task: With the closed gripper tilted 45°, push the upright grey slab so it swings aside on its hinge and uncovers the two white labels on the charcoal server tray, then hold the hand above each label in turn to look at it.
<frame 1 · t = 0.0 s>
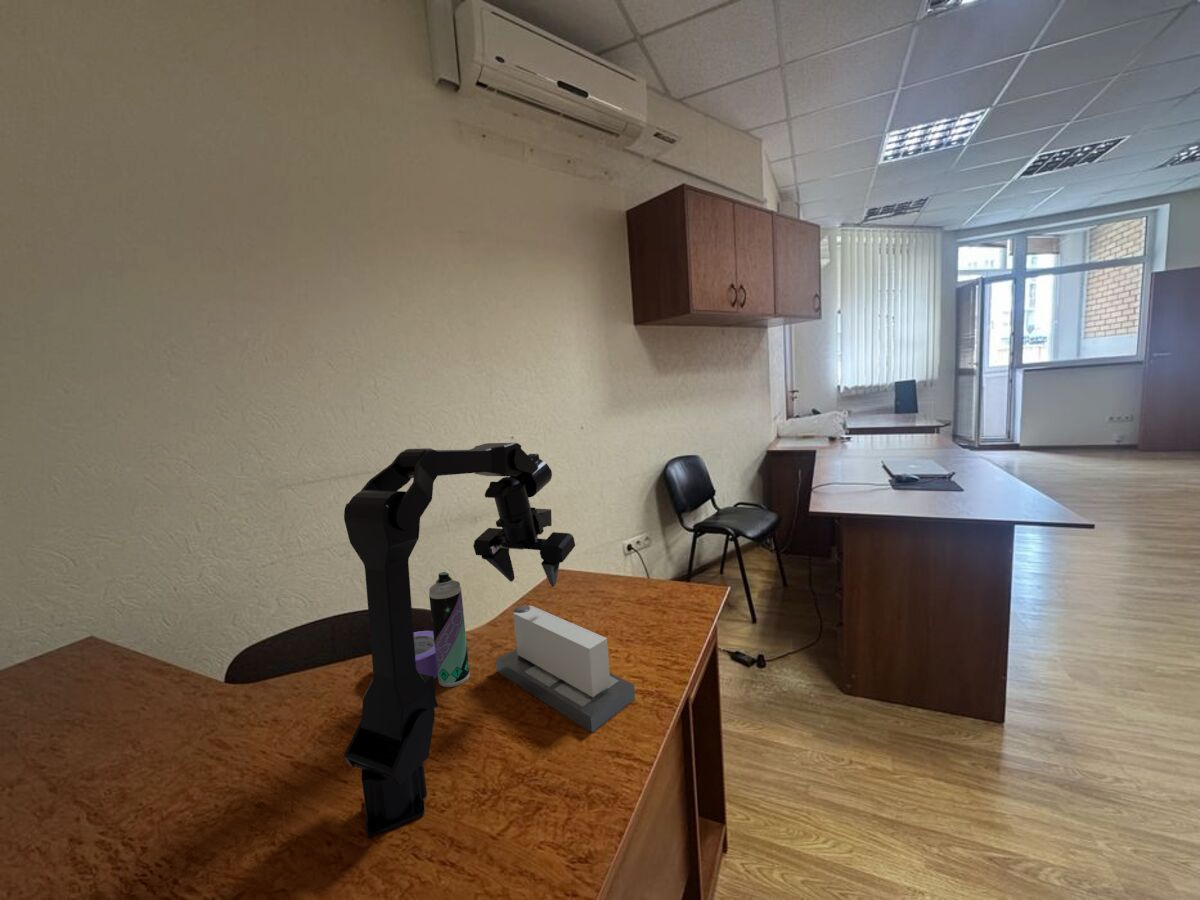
hand: (532, 582, 88), 15 cm above the table, tool pointing down, fingers open, 9 cm apart
tape roll: (416, 671, 90), on the table
server tray: (561, 684, 82), on the table
spray can: (454, 679, 86), on the table
upright grey slab: (555, 645, 81), point 7 cm above the table, hinge at 0.0°
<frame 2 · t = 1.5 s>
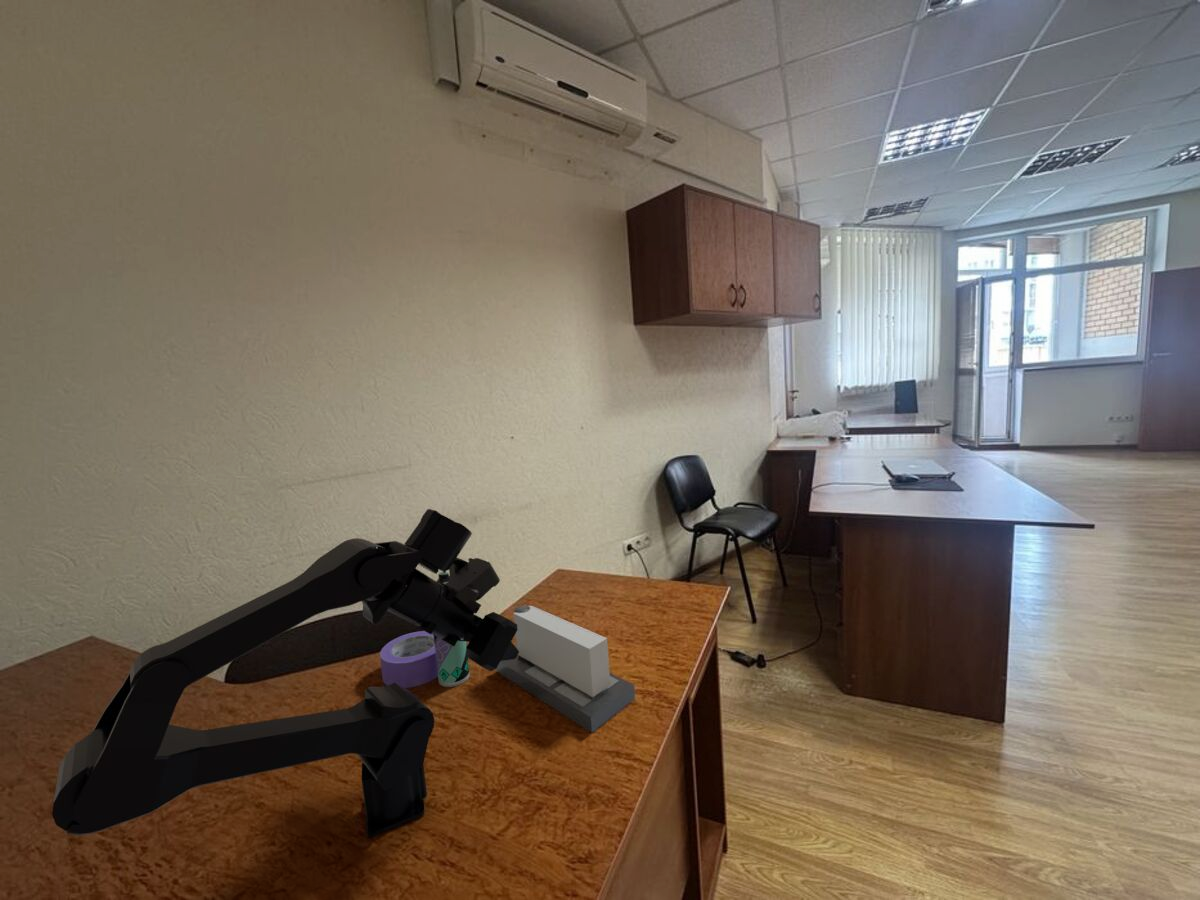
hand: (502, 646, 70), 13 cm above the table, tool tilted 45°, fingers open, 7 cm apart
nothing on the table moved.
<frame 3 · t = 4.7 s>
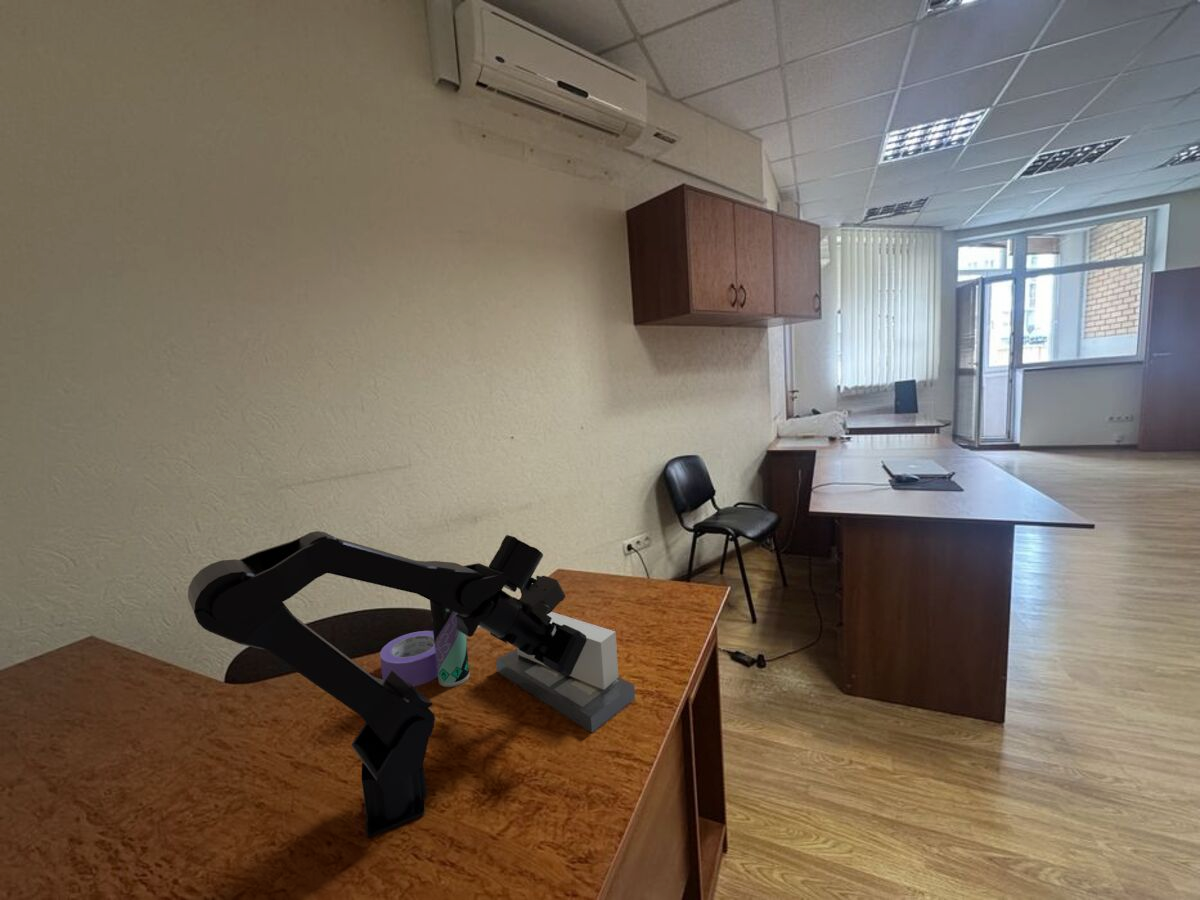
hand: (565, 653, 79), 7 cm above the table, tool tilted 45°, fingers closed, pressing on upright grey slab
upright grey slab: (560, 642, 82), point 7 cm above the table, hinge at 7.0°, touching gripper
everything else where it was.
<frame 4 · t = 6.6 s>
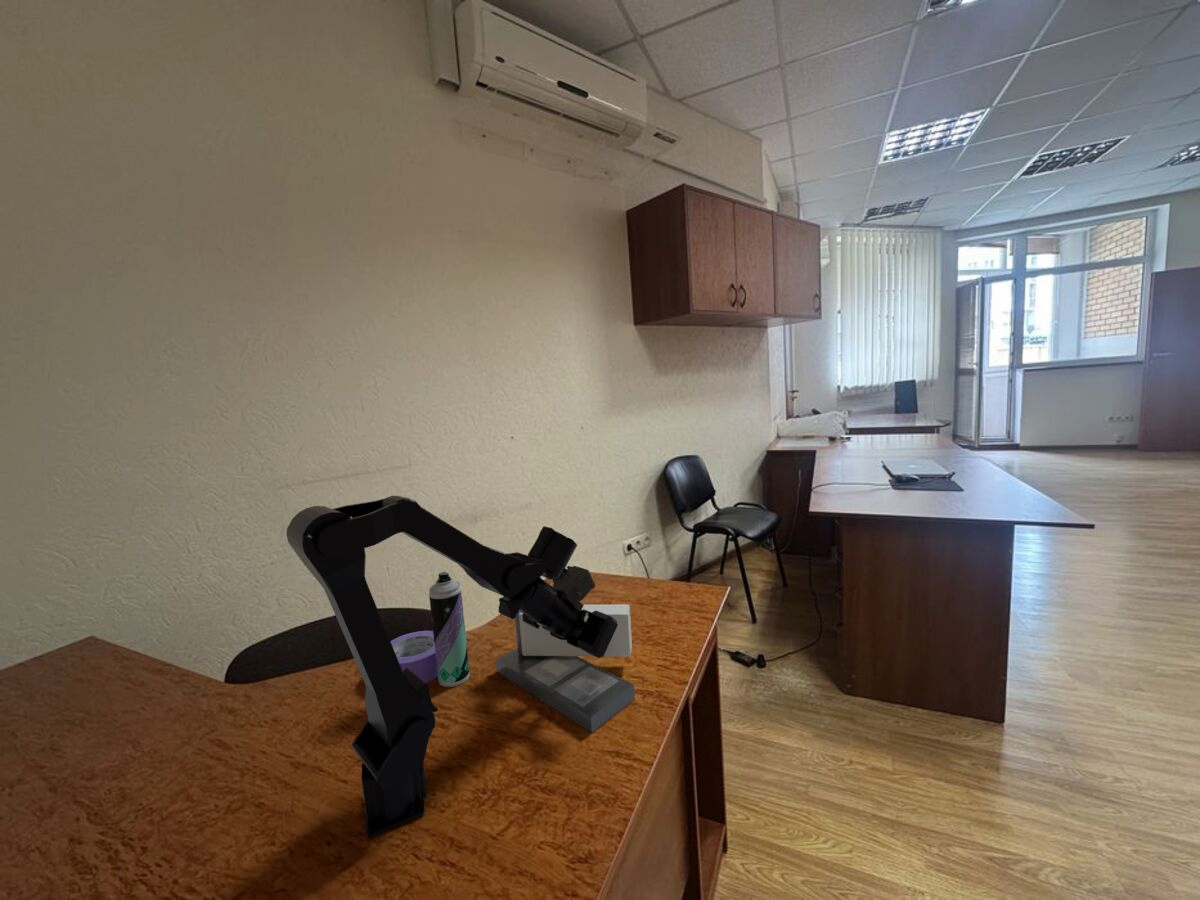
hand: (593, 640, 84), 6 cm above the table, tool tilted 45°, fingers closed
upright grey slab: (572, 629, 87), point 7 cm above the table, hinge at 36.2°, touching gripper
everything else where it was.
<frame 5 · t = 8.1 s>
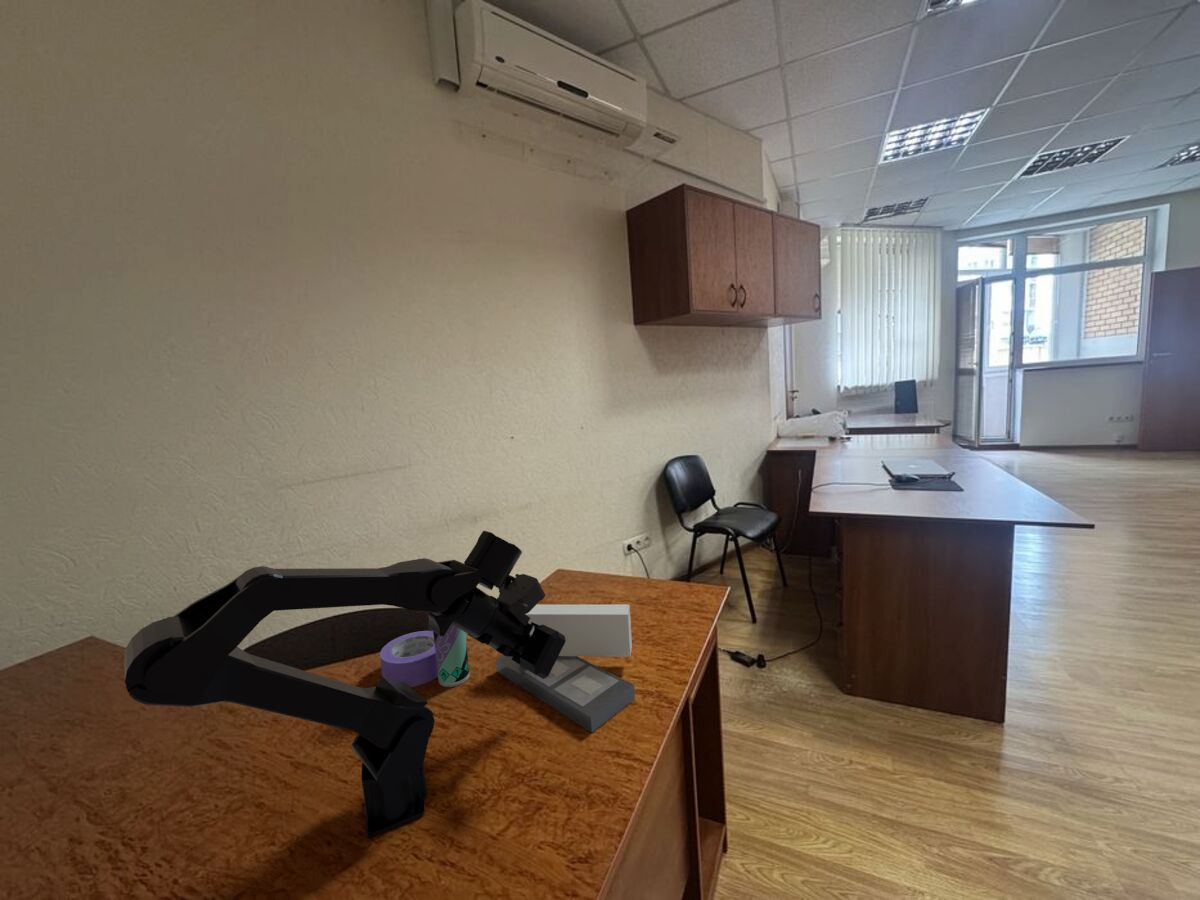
hand: (545, 655, 76), 9 cm above the table, tool tilted 45°, fingers closed
upright grey slab: (572, 629, 87), point 7 cm above the table, hinge at 36.2°
everything else where it was.
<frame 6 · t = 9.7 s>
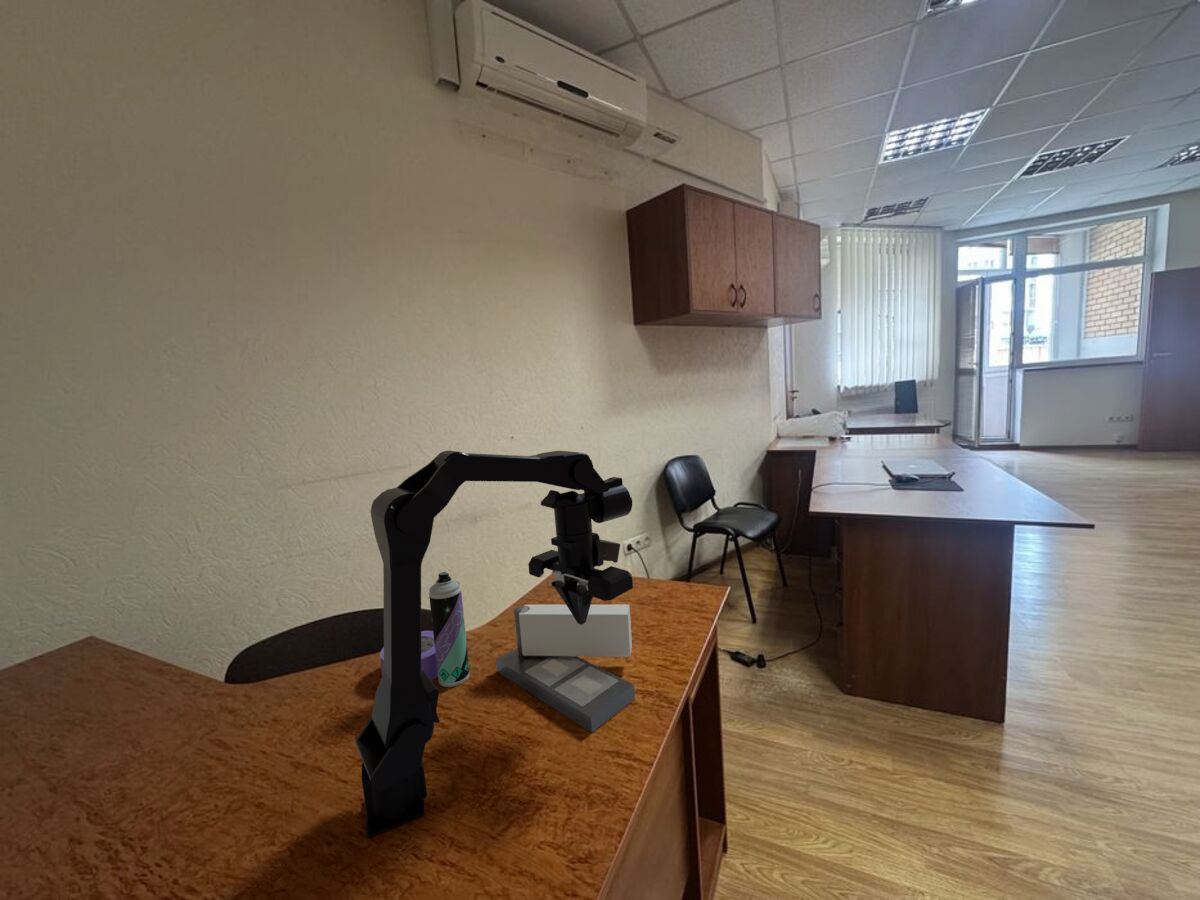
hand: (581, 623, 76), 13 cm above the table, tool pointing down, fingers closed
nothing on the table moved.
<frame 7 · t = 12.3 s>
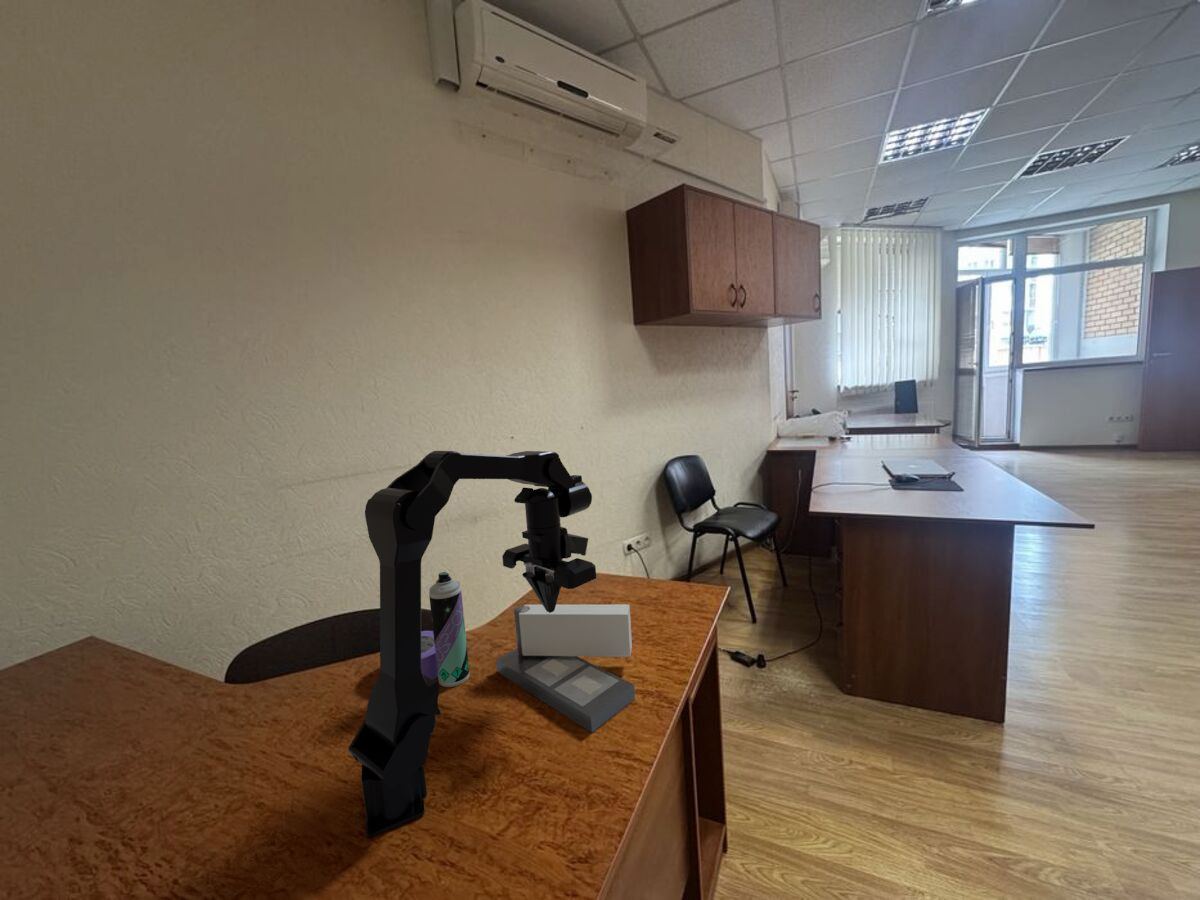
hand: (550, 611, 81), 13 cm above the table, tool pointing down, fingers closed
nothing on the table moved.
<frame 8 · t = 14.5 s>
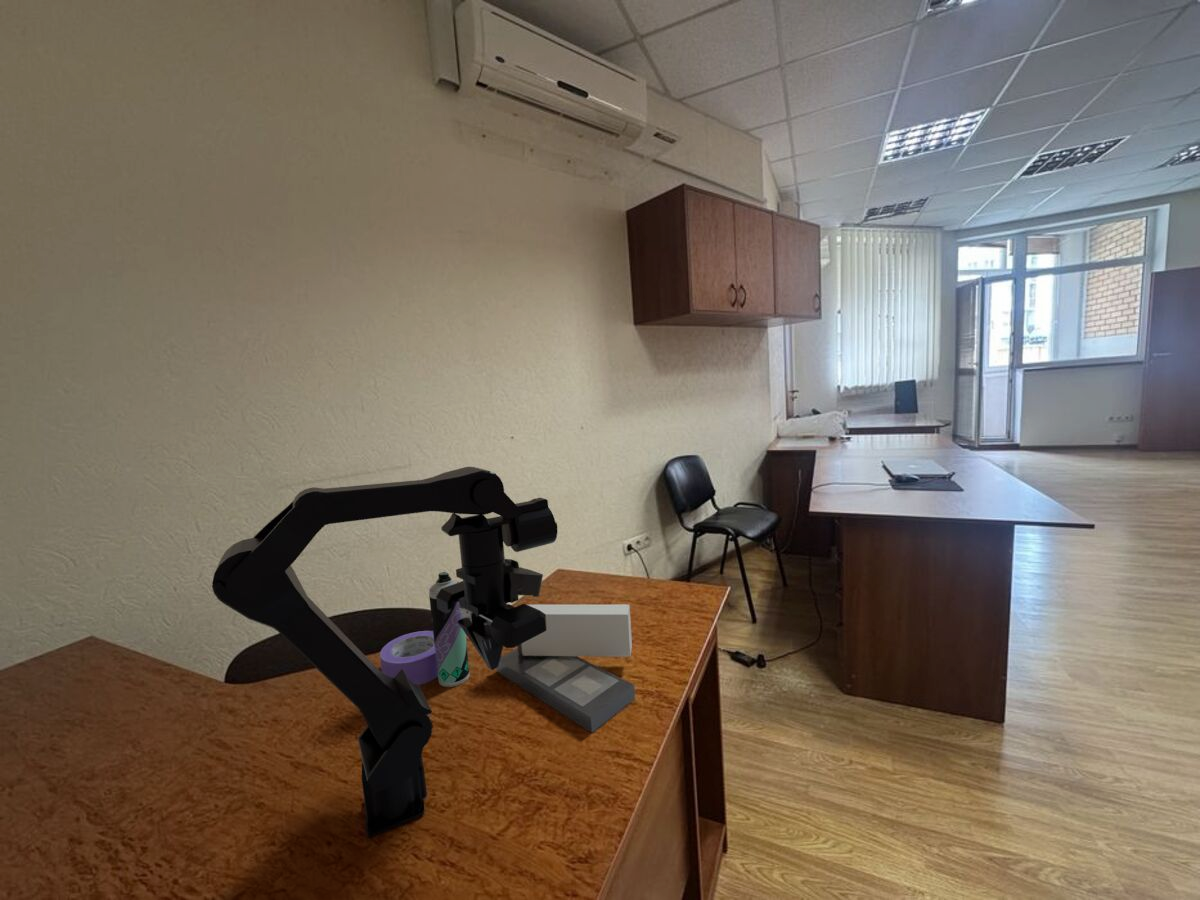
hand: (493, 667, 65), 13 cm above the table, tool pointing down, fingers closed
nothing on the table moved.
at the end: upright grey slab at +36° (first picture: +0°) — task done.
